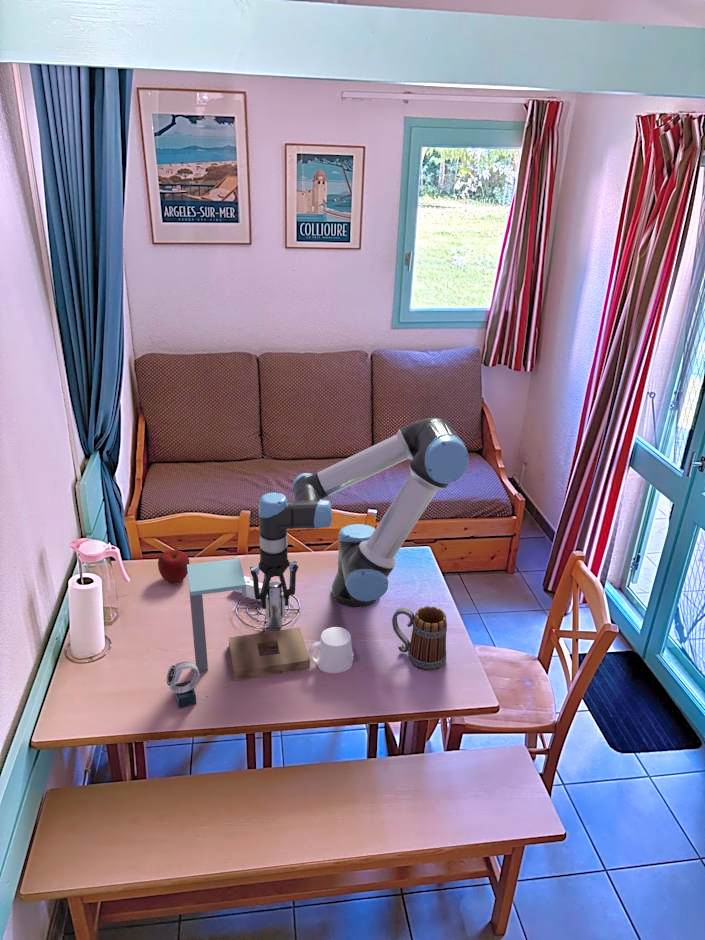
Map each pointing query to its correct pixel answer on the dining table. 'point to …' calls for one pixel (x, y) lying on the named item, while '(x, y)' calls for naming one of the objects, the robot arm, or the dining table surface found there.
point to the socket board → (253, 665)
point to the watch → (183, 684)
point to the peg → (275, 605)
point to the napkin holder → (250, 588)
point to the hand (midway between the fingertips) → (275, 615)
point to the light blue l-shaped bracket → (204, 582)
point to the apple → (173, 566)
